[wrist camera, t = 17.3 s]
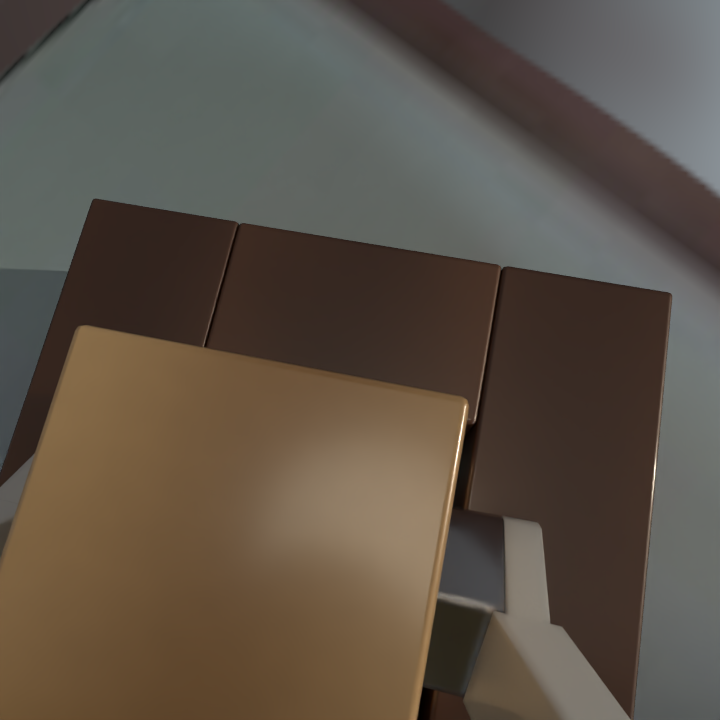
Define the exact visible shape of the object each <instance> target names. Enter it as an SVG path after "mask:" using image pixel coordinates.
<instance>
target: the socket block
mask: <svg viewBox="0 0 720 720" xmlns="http://www.w3.org/2000/svg"><path fill="white" fill-rule="evenodd" d="M671 305H672V295H671V294H670V293H668V292H662V291H656V290H650V289H643V288H637V287H631V286H625V285H619V284H613V283H607V282H601V281H594V280H588V279H582V278H576V277H570V276H564V275H558V274H552V273H545V272H539V271H533V270H527V269H521V268H515V267H509V266H507V267H503V269H502V270H501V267H500V266H499V265H496V264H490V263H484V262H478V261H472V260H466V259H460V258H454V257H447V256H441V255H435V254H429V253H423V252H417V251H411V250H405V249H398V248H392V247H386V246H380V245H374V244H368V243H362V242H356V241H349V240H343V239H337V238H331V237H325V236H319V235H313V234H307V233H300V232H294V231H288V230H282V229H276V228H270V227H264V226H258V225H251V224H245V223H242V224H240V225H239V224H238V223H237V222H235V221H229V220H223V219H217V218H211V217H204V216H198V215H192V214H186V213H180V212H174V211H168V210H162V209H155V208H149V207H143V206H137V205H131V204H125V203H119V202H113V201H106V200H100V199H93V201H92V203H91V206H90V209H89V212H88V215H87V218H86V221H85V224H84V227H83V230H82V232H81V235H80V238H79V241H78V244H77V247H76V250H75V253H74V256H73V259H72V262H71V265H70V268H69V271H68V274H67V277H66V280H65V283H64V286H63V289H62V292H61V295H60V298H59V301H58V304H57V307H56V309H55V312H54V315H53V318H52V321H51V324H50V327H49V330H48V333H47V336H46V339H45V342H44V345H43V348H42V351H41V354H40V357H39V360H38V363H37V366H36V369H35V372H34V375H33V378H32V381H31V384H30V386H29V389H28V392H27V395H26V398H25V401H24V404H23V407H22V410H21V413H20V416H19V419H18V422H17V425H16V428H15V431H14V434H13V437H12V440H11V443H10V446H9V449H8V452H7V455H6V458H5V461H4V463H3V466H2V469H1V472H0V487H1V486H2V485H3V484H4V483H5V482H6V481H7V480H8V479H9V478H10V477H11V476H12V475H13V474H14V473H15V472H16V471H17V470H18V469H19V468H20V467H21V466H22V465H23V464H24V463H25V462H26V461H27V460H28V459H30V458H31V457H32V456H33V455H34V454H35V451H36V448H37V445H38V442H39V439H40V436H41V433H42V430H43V427H44V424H45V421H46V418H47V415H48V412H49V409H50V406H51V403H52V400H53V397H54V393H55V390H56V387H57V384H58V381H59V378H60V375H61V372H62V369H63V366H64V363H65V360H66V357H67V354H68V351H69V348H70V345H71V342H72V339H73V336H74V333H75V330H76V329H77V327H78V326H83V325H90V326H95V327H101V328H106V329H111V330H117V331H122V332H127V333H132V334H138V335H143V336H148V337H153V338H159V339H164V340H169V341H175V342H180V343H185V344H190V345H196V346H201V347H206V348H211V349H217V350H222V351H227V352H233V353H238V354H243V355H248V356H254V357H259V358H264V359H269V360H275V361H280V362H285V363H290V364H296V365H301V366H306V367H312V368H317V369H322V370H327V371H333V372H338V373H343V374H348V375H354V376H359V377H364V378H370V379H375V380H380V381H385V382H391V383H396V384H401V385H406V386H412V387H417V388H422V389H428V390H433V391H438V392H443V393H449V394H454V395H459V396H462V397H464V398H465V399H467V400H468V404H469V412H468V418H467V424H466V430H465V436H464V441H463V447H462V453H461V459H460V465H459V471H458V477H457V483H456V489H455V495H454V501H453V506H455V507H460V508H465V509H470V510H475V511H480V512H485V513H490V514H495V515H500V516H501V517H502V516H506V517H511V518H517V519H522V520H527V521H532V522H537V523H538V524H539V525H540V527H541V529H542V539H543V550H544V560H545V571H546V582H547V592H548V603H549V614H550V624H553V625H557V626H561V627H563V629H564V630H565V631H566V633H567V634H568V635H569V637H570V638H571V639H572V641H573V642H574V644H575V645H576V646H577V648H578V649H579V650H580V652H581V653H582V654H583V656H584V657H585V658H586V660H587V661H588V663H589V664H590V665H591V667H592V668H593V669H594V671H595V672H596V673H597V675H598V676H599V677H600V679H601V680H602V682H603V683H604V684H605V686H606V687H607V688H608V690H609V691H610V692H611V694H612V695H613V696H614V698H615V699H616V701H617V702H618V703H619V705H620V706H621V707H622V709H623V710H624V711H625V713H626V714H627V715H628V717H629V718H630V719H631V720H633V717H634V707H635V696H636V685H637V674H638V663H639V652H640V641H641V631H642V620H643V609H644V598H645V587H646V576H647V565H648V555H649V544H650V533H651V522H652V511H653V500H654V489H655V479H656V468H657V457H658V446H659V435H660V424H661V413H662V403H663V392H664V381H665V370H666V359H667V348H668V337H669V327H670V316H671ZM463 699H464V698H462V697H458V696H455V695H451V694H447V693H444V692H440V691H436V690H433V689H429V688H425V687H422V693H421V699H420V704H419V710H418V716H417V720H471V719H470V716H469V714H468V712H467V710H466V707H465V705H464V703H463Z"/></svg>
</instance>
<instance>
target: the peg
mask: <svg viewBox="0 0 720 720" xmlns="http://www.w3.org/2000/svg"><path fill="white" fill-rule="evenodd" d="M468 412H469V404H468V400H467V399H465V398H464V397H462V396H459V395H454V394H449V393H443V392H438V391H433V390H428V389H422V388H417V387H412V386H406V385H401V384H396V383H391V382H385V381H380V380H375V379H370V378H364V377H359V376H354V375H348V374H343V373H338V372H333V371H327V370H322V369H317V368H312V367H306V366H301V365H296V364H290V363H285V362H280V361H275V360H269V359H264V358H259V357H254V356H248V355H243V354H238V353H233V352H227V351H222V350H217V349H211V348H206V347H201V346H196V345H190V344H185V343H180V342H175V341H169V340H164V339H159V338H153V337H148V336H143V335H138V334H132V333H127V332H122V331H117V330H111V329H106V328H101V327H95V326H90V325H83V326H78V327H77V329H76V330H75V333H74V336H73V339H72V342H71V345H70V348H69V351H68V354H67V357H66V360H65V363H64V366H63V369H62V372H61V375H60V378H59V381H58V384H57V387H56V390H55V393H54V397H53V400H52V403H51V406H50V409H49V412H48V415H47V418H46V421H45V424H44V427H43V430H42V433H41V436H40V439H39V442H38V445H37V448H36V451H35V454H34V457H33V460H32V464H31V467H30V470H29V473H28V476H27V479H26V482H25V485H24V488H23V491H22V494H21V497H20V500H19V503H18V506H17V509H16V512H15V515H14V518H13V521H12V524H11V527H10V531H9V534H8V537H7V540H6V543H5V546H4V549H3V552H2V555H1V558H0V720H417V716H418V710H419V704H420V699H421V693H422V687H423V681H424V675H425V669H426V663H427V657H428V651H429V645H430V639H431V633H432V627H433V621H434V615H435V609H436V603H437V597H438V591H439V585H440V579H441V573H442V567H443V561H444V555H445V549H446V543H447V537H448V531H449V525H450V519H451V513H452V507H453V501H454V495H455V489H456V483H457V477H458V471H459V465H460V459H461V453H462V447H463V441H464V436H465V430H466V424H467V418H468Z"/></svg>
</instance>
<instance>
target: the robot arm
mask: <svg viewBox="0 0 720 720" xmlns="http://www.w3.org/2000/svg"><path fill="white" fill-rule="evenodd" d="M33 457H34V455H33V456H32V457H31V458H30V459H28V460H27V461H26V462H25V463H24V464H23V465H22V466H21V467H20V468H19V469H18V470H17V471H16V472H15V473H14V474H13V475H12V476H11V477H10V478H9V479H8V480H7V481H6V482H5V483H4V484H3V485H2V486H1V487H0V558H1V555H2V552H3V549H4V546H5V543H6V540H7V537H8V534H9V531H10V527H11V524H12V521H13V518H14V515H15V512H16V509H17V506H18V503H19V500H20V497H21V494H22V491H23V488H24V485H25V482H26V479H27V476H28V473H29V470H30V467H31V464H32V460H33ZM423 687H425V688H429V689H433V690H436V691H440V692H444V693H447V694H451V695H455V696H458V697H462V698H464V699H463V703H464V705H465V707H466V710H467V712H468V714H469V716H470V719H471V720H631V719H630V718H629V717H628V715H627V714H626V713H625V711H624V710H623V709H622V707H621V706H620V705H619V703H618V702H617V701H616V699H615V698H614V696H613V695H612V694H611V692H610V691H609V690H608V688H607V687H606V686H605V684H604V683H603V682H602V680H601V679H600V677H599V676H598V675H597V673H596V672H595V671H594V669H593V668H592V667H591V665H590V664H589V663H588V661H587V660H586V658H585V657H584V656H583V654H582V653H581V652H580V650H579V649H578V648H577V646H576V645H575V644H574V642H573V641H572V639H571V638H570V637H569V635H568V634H567V633H566V631H565V630H564V629H563V627H561V626H557V625H553V624H550V614H549V603H548V592H547V582H546V571H545V560H544V550H543V539H542V529H541V527H540V525H539V524H538V523H537V522H532V521H527V520H522V519H517V518H511V517H506V516H502V517H501V516H500V515H495V514H490V513H485V512H480V511H475V510H470V509H465V508H460V507H455V506H453V507H452V513H451V519H450V525H449V531H448V537H447V543H446V549H445V555H444V561H443V567H442V573H441V579H440V585H439V591H438V597H437V603H436V609H435V615H434V621H433V627H432V633H431V639H430V645H429V651H428V657H427V663H426V669H425V675H424V681H423Z"/></svg>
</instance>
